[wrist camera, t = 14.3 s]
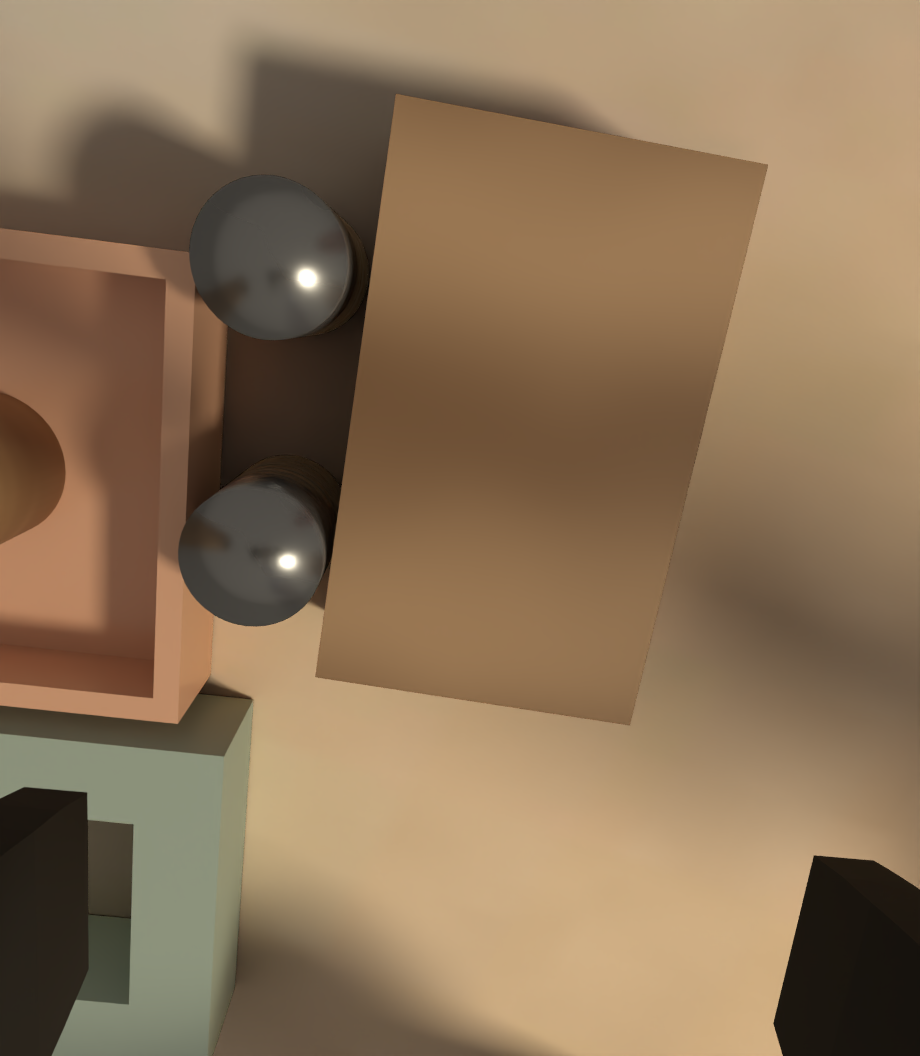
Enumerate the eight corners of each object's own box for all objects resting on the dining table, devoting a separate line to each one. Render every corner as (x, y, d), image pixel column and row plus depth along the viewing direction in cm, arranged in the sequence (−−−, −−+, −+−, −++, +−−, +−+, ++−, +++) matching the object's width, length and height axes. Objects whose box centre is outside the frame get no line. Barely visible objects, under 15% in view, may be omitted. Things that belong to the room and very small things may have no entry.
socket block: (234, 987, 21) (206, 1075, 18) (-88, 957, 20) (-160, 1043, 18) (253, 699, 19) (224, 756, 16) (-104, 661, 18) (-188, 714, 16)
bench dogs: (341, 573, 18) (316, 633, 15) (227, 561, 18) (175, 618, 14) (374, 213, 16) (353, 186, 13) (247, 196, 16) (192, 164, 13)
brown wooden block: (597, 651, 19) (629, 725, 16) (340, 611, 19) (315, 676, 15) (703, 195, 16) (767, 165, 13) (407, 140, 16) (396, 93, 13)
